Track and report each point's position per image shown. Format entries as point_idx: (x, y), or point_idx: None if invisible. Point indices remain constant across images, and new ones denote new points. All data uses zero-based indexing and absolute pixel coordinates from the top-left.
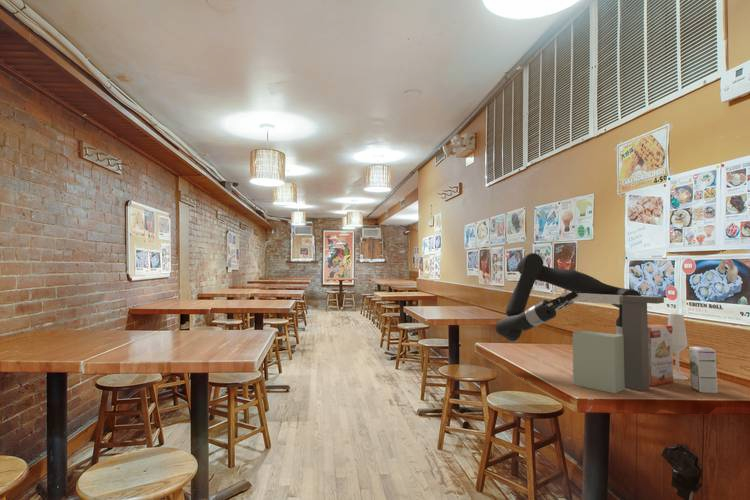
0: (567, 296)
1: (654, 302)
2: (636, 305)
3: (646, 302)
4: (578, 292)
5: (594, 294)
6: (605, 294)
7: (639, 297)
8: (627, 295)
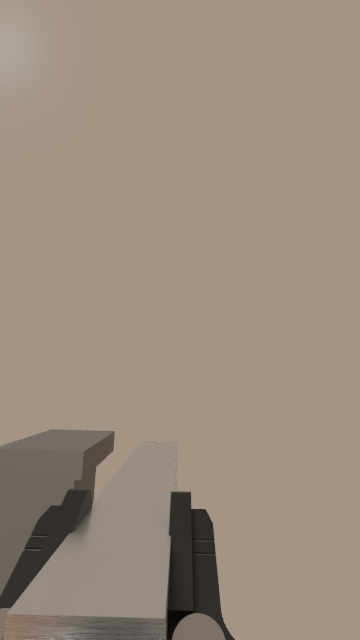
0: (214, 600)
1: (111, 448)
2: (91, 477)
3: (106, 454)
4: (87, 505)
5: (175, 467)
6: (133, 455)
7: (103, 441)
8: (8, 449)
